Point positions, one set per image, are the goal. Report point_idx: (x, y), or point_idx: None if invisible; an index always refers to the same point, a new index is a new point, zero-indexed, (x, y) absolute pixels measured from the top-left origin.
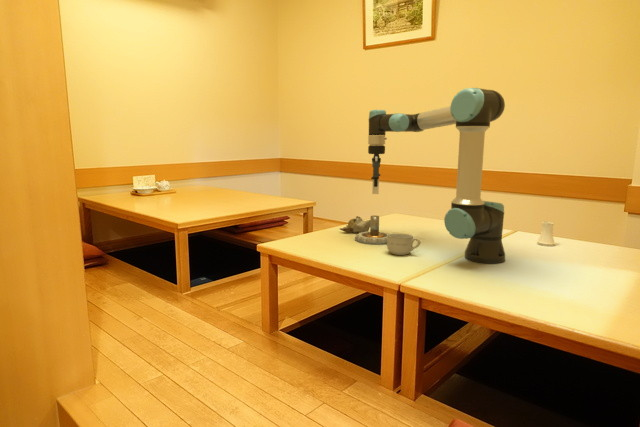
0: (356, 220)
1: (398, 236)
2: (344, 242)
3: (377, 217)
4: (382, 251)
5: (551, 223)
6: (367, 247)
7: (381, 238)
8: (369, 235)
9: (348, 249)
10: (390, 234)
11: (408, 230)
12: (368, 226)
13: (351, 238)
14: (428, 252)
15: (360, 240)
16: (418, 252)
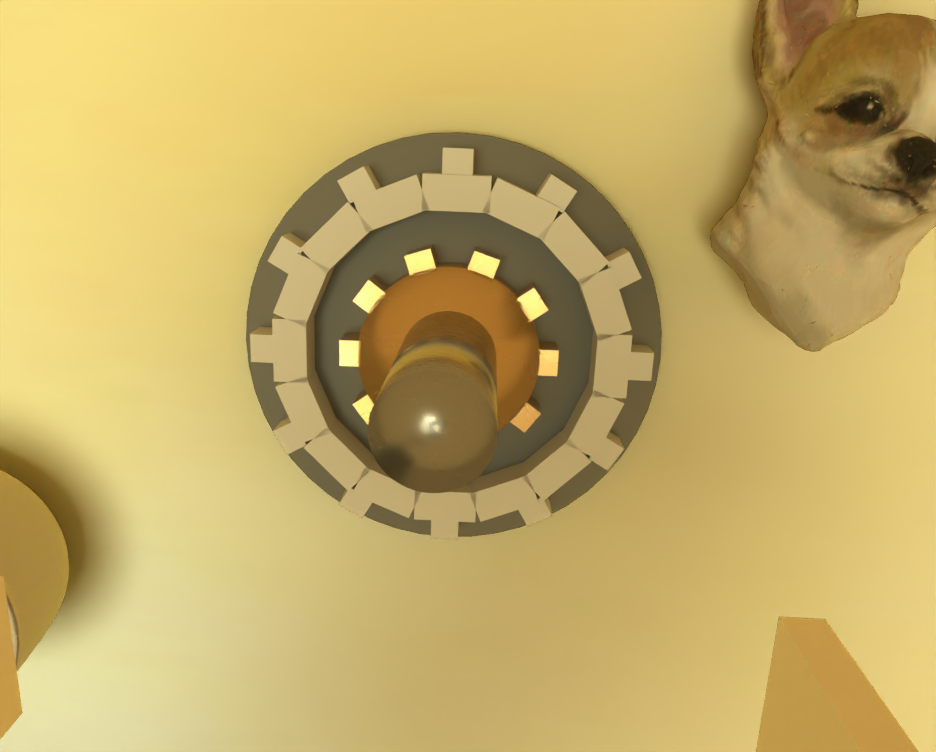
0: (838, 142)
1: (17, 602)
2: (296, 9)
3: (381, 463)
4: (17, 401)
5: None
6: (130, 267)
7: (291, 424)
8: (426, 303)
9: (5, 68)
10: None
11: (907, 700)
12: (753, 305)
13: (500, 89)
14: (81, 746)
15: (330, 197)
16: (62, 678)
